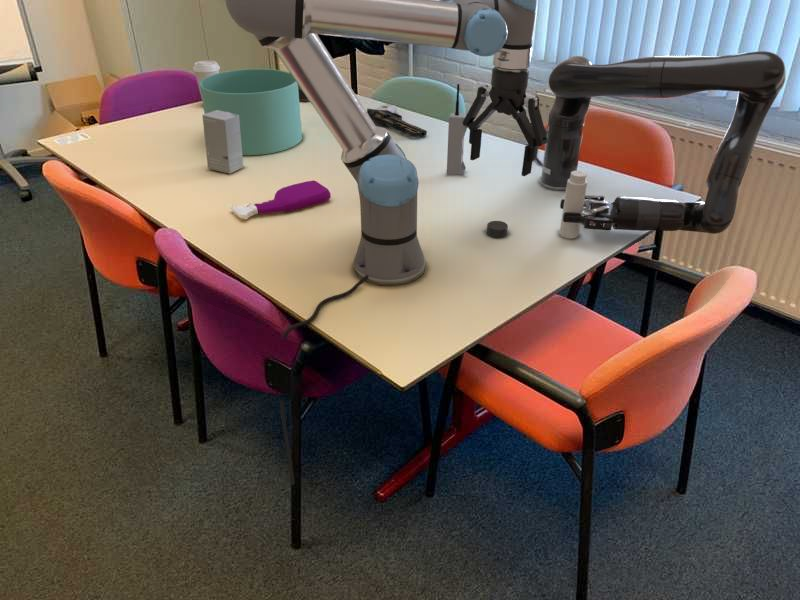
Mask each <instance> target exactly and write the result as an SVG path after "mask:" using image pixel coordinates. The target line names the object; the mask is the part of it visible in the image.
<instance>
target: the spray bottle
mask: <svg viewBox="0 0 800 600" xmlns="http://www.w3.org/2000/svg"><path fill="white" fill-rule="evenodd" d="M331 198H332V196H331V192H330V189H328V188H327V187H326V186H325V185H323V184H321V183H320V182H318V181H317V180H314V179H313V180H306V181H303V182H298V183H293V184H291V185H287V186H283V187H281V188H279V189H278V190H276V192H275V194H274V197H273V199H271V200H267V201H263V202H261V203H254V204H253V205H251V203H250V202H248V203H247V204H244V205H242V206H240V205H239V206H238V205H237V206H234V205H230V206H229V208H230V210H231V212H232V213H233V214H235V216H237V217H238V218H240V219H243V220H248V219H249V218H250V217H252V216H254V215H257V214H258V215H264V214H274V213H290V212H295V211H301V210H304V209H307V208H310V207H313V206H316V205H320V204H323V203H326V202H328V201H329V200H330V199H331Z"/></svg>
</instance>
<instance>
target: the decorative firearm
mask: <svg viewBox="0 0 800 600" xmlns="http://www.w3.org/2000/svg"><path fill="white" fill-rule="evenodd" d="M397 110H398V107H397V105H393V104H388V103H385V104H382V105H379V106H378V107H376V108H369V107H367V108H366V112H367V113H368V115H369V116H370V118H371V119H372V121H373V123H377V124H379V125H382V127H384V126H389V127H391V128H393V129H395V130H397V131H399V132H401V133H404V134H406V135H408V136H411V137H415V138H416V137H419V138H424V137H426V136H427V132H428V130H426V129H423V128H421V127H420V126H416V125H413V124H411V123H409V122H406V121H405V120H403V115H401V114H399V113H397Z"/></svg>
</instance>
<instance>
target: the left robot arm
mask: <svg viewBox="0 0 800 600" xmlns="http://www.w3.org/2000/svg"><path fill="white" fill-rule="evenodd" d="M224 1H225V7H226V9H227V12H228V14H229V15H230V17H231V19H232V20H233V21H234V23H235V24H236V25H237V26H238V27H239V28H241V29H242V30H244V31H245V32H247V33H249V34H251V35H254V37H255V38H256V40H257V41H258V42H259V44H260V45H261V47H262V48H263V49H267V50H271V51H274V52H275V53H276V55H277V57H278V58H279V59H280V61H281V62H282V63H283V65H284V66H285V68H286V69H287V72H289V73H290V74H291V75H292V76H293V78H294V79H295V81H296V82H297V84H298V85H299V87H300V88H301V89H302V91H303V92H304V94H305V95H306V97H307V98H308V100H309V101H308V102H309V103H310V104H311V106H312V107H313V108H314V110H315V111H316V113H317V114H318V116H319V117H320V119H321V120H322V122H323V123H324V124H325V127H327V129H328V130H329V132H330V134H331V135H332V136H333V137H334V139H335V140H336V142H337V143H338V145H339V147H340V148H341V150H342V151H341V156H340V160H341V161H342V163H343V165H344V166H345V167H346V169H347V170H348V171H349V173H350V174H351V176H352V177H353V179H354V180H355V183H356V185H357V190H358V196H359V206H360V207H359V208H360V211H359V212H360V239H359V242H358V247H357V249H356V252H355V256H354V259H353V270H354V273H355V275H356V276H357V277H358V278H359V279H360V280H359V281H357V282H356V283H355V285H353V287H351V288H350V289H349V290H347V291H345V292H342V293H340V294H336V295H332V296H328V297H327V298H324V299H323V300H321V301H320V302H319V304H317V306H316V308H315V310H314V311H313V313H312V315H311V316H310V317H309V318H308V319H306V320H302V321H300V322H296V323H294V324H292V325H289V327H287V328H286V329H285V331H284V332H283V333H282V335H281V337H280V340H285V339H286V338H287V336H288V335H289V333H291V331H293V330H295V329H297V328H300V327H303V326H307V325H308V324H310V323H311V322H313V321H314V320H315V319H316V318H317V316H318V314H319V312H320V310H321V308H322V307H323V306H324V305H325V304H327V303H329V302H331V301H334V300H337V299H341V298H344V297H347V296H349V295H351V294H352V293H354V292H355V291H356V290H357V289H358V288H359V287H360V286H361V285H362V284H364V282H366V283H369V284H370V285H371V284H372V285H376V286H382V287H395V286H402V285H406V284H410V283H413V282H415V281H417V280H418V279H420V278H421V276H423V274H424V273H425V270H426V261H425V255H424V252H423V250H422V247H421V244H420V241H419V238H418V190H419V184H420V183H419V182H420V181H419V177H418V169H417V167H416V166H415V164H414V163H413V162H412V161H411V160H409V159H407V156H406V154H405V152H404V151H403V149H402V148H401V147H400V145H398V143H397V142H395V141H394V139H393V138H392V136H391V134H390V133H389V131H388V129H387V128H386V127H384V126H377V125H376V124H375V122H374V120H372V119H371V118H370V116H369V115H368V113H367V109H365V107H364V105H363V104H362V102H361V101H360V99H359V97H358V96H357V94H356V93H355V92H354V90H353V89H352V87H351V85H350V84H349V82H348V80H347V79H346V77H345V75H344V74H343V73H342V71H341V70H340V68H339V66H338V65H337V63H336V61H335V60H334V58H333V57H332V55H331V53H330V52H329V51H328V49H327V47H326V46H325V45H324V43H323V41H322V40H321V38H320V37H319V35H323V36H333V37H342V38H349V39H351V38H352V39H358V40H359V39H360V40H361V39H362V40H368V41H369V40H371V41H379V42H387V43H388V42H389V43H397V44H398V43H399V44H407V45H417V46H426V47H435V48H436V47H437V48H446V49H453V50H459V51H468V52H470V53H472V54H474V56H475V55H476V56H479V57H491V56H493V60H492V65H493V66H494V67H493V68H492V70H491V77H490V78H491V79H490V85H491V87H490V86H489V85H488V84H485V85H481V86H479V87H478V88H477V92H476V96H475V98H474V100H473V102H472V104H471V106H470V108H469V110H468V112H467V113H466V114H467V115H466V117H465V119H464V120H463V125H464V126H467V129H468V130H469V135H468V136H469V137H468V144H470V156H469V157H470V158H469V160H470V161H475V160H477V159H479V158H480V157H481V148H482V146H481V145H482V136H483V129H481V126H482V125H483V124H484V123H485V122H486V121H487V120H488V119H489V118H491V116H493V114H494V113H495V112H496V113H497V114H498V113H499V114H505V115H506V116H512V118H513V119H514V120H515V121H516V123H517V125H518V127H519V129H520V131H521V133H522V134H523V136H524V138H525V140H526V142H527V145H525V146H524V153H523V159H522V160H523V161H522V168H521V177H526V176H528V175H530V174H531V173H532V168H533V162H534V161H536V158H538V152H539V151H538V150H539V147H542V146H545V144H546V143H547V142H548V140H547V136H546V132H545V129H546V128H545V125H544V121H543V118H542V117H543V116H542V113H541V110H540V97H539V96H537V95H536V96H533V97H530V96H527V94H526V93H527V89H528V82H529V75H530V71H529V68H530V67H531V59H532V51H533V42H534V41H533V40H534V34H535V28H536V20H537V14H538V4H539V0H224ZM488 97H489V98H490V101H491V102H490V103H489V104H487V105H488V106H486V108H485V109H484V110H483V111H482V112H481V113H480V111H481V109H482V107H483V106H484V103H485V102H486V100H487V98H488ZM524 105H525V107H526V108H527V110H526V108H525V107H524ZM527 112H528V113H527ZM479 113H480V115H479ZM527 114H528V115H527ZM478 115H479V116H478ZM531 124H532V125H531ZM538 146H539V147H538ZM279 409H280V418H281V424H282V432H283V438H284V444H285V449H286V456H287V462H288V470H289V478H290V484H291V485H292V486H293V485H295V475H294V474H295V473H294V467H293V466H294V465H293V461H292V453H291V448H290V447H291V446H290V441H289V435H288V428H287V421H286V413H285V405H284V399H279Z"/></svg>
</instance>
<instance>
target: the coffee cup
mask: <svg viewBox="0 0 800 600" xmlns="http://www.w3.org/2000/svg"><path fill="white" fill-rule="evenodd" d="M193 64H194V65H193V66H192V71H193V72H194V74H195V78H196V83H197V87H198V90H199V94H200V98H201V99H202V96H201V90H200V82H201V81H202V80H203V79H204V78H206V77H208V76H211V75H214V74H217V73H220V70H221V67H220V65H219V63H218V62H217V61H215V60H200V61H195V62H194V63H193Z"/></svg>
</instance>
